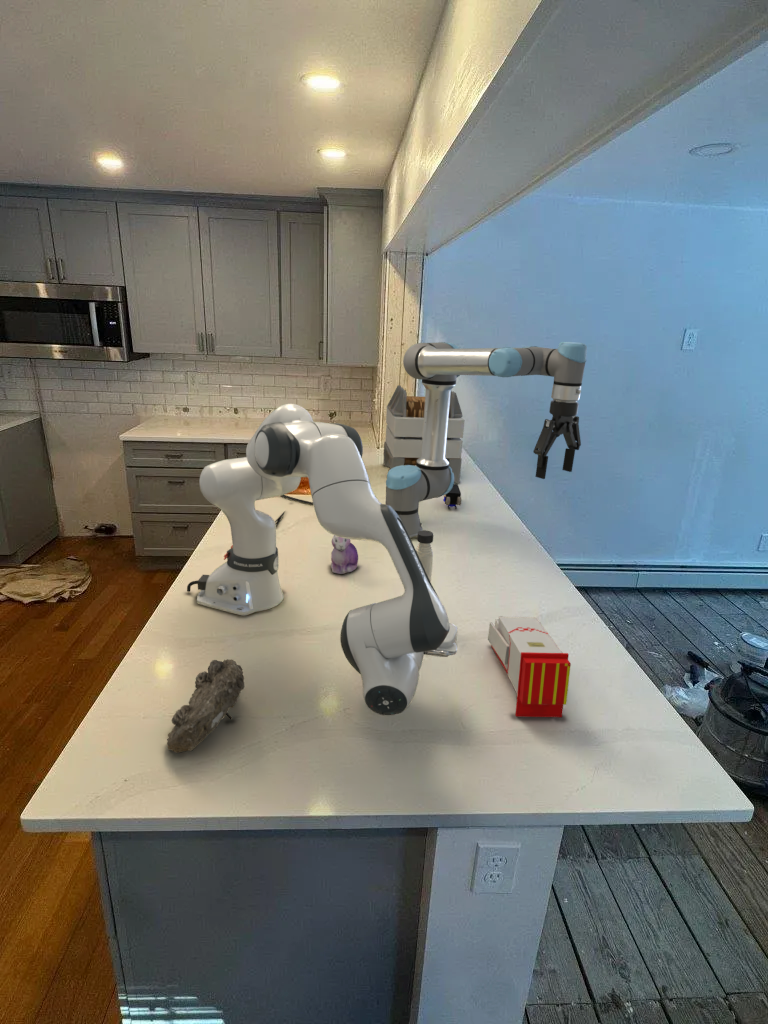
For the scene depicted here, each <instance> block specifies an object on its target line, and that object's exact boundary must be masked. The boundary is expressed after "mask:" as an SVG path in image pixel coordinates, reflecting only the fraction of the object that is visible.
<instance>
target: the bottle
mask: <svg viewBox="0 0 768 1024" xmlns="http://www.w3.org/2000/svg"><path fill="white" fill-rule="evenodd" d="M432 547H433V546H432V545H431V543H429V544H424V543H420V542H418V544H417V547H416V548H415V550H416V552H417V554H418V556H419V558H420V561H421V563H422V565H423V567H424V569H425V571H426V574H427V576H428V578H429V580H430V582H431V583H432V575H433V574H432V573H433V564H434V563H433V561H434V551H433V549H432Z"/></svg>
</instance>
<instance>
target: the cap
mask: <svg viewBox="0 0 768 1024" xmlns="http://www.w3.org/2000/svg"><path fill="white" fill-rule="evenodd" d="M416 540H417V542H418V543H424V544H429V543H430V544H432V543H433V542H434V532H433V531H431V530H426V529H424V530H423V529H422V531H419V532H418V534H417V538H416Z"/></svg>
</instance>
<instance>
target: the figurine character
mask: <svg viewBox="0 0 768 1024" xmlns="http://www.w3.org/2000/svg"><path fill="white" fill-rule="evenodd" d="M442 500H443V502H444V504H445V506H447V509H448V510H451V508H453V507H454V510H457V509H458V507H459V506H461V505H462V492H461V490H460V486H459V483H454V484H453V487H452V489H451V490H450V491H449V492H448V493H447V494H445V495H443V499H442ZM450 507H451V508H450Z"/></svg>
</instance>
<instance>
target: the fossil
mask: <svg viewBox="0 0 768 1024" xmlns="http://www.w3.org/2000/svg"><path fill="white" fill-rule="evenodd" d="M243 670H244V669H243V667H242V665H240V664H237V662H236V661H235V660H234V659H232V658H231V659H227V658H226V659H224V660H223V661H222V660H217V659H212V660H211V661H210V663H209V665H208V666H207V671H201V672H199V673H198V674H197V675H196V676H195V680H194V684H195V685H194V687H195V689H194V690H193V693H192V694H191V697H190V698H189V700H188V704H184V705H182V706H181V707H180V709H177V710H176V711H175V713H174V715H173V716H172V718H171V723H172V724H173V727H172V730H171V731H170V732H168V734H167V738H166V741H167V742H166V745H167V749H168V750H169V751H173V752H174V753H176V754H178V753H182V752H188V751H189V752H192V751H193V750H195V748H196V747H197V746H199V744H200V743H201V742H203V741H204V740H205V739H206V738H207V737H208V736H209V735H210V734H211V733H212V732H214V730H215V729H217V727H218V726H219V724H220V722H221V721H222V720H223V719H224V718H225V716H226V717H227V719H229V720H233V717H232V715H230V714H229V710H230V709H231V708H234V706H235V704H236V703H237V702H238V699H239V697H240V695H241V693H242V691H243V690H245V689H244V688H245V675H244V671H243Z"/></svg>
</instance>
